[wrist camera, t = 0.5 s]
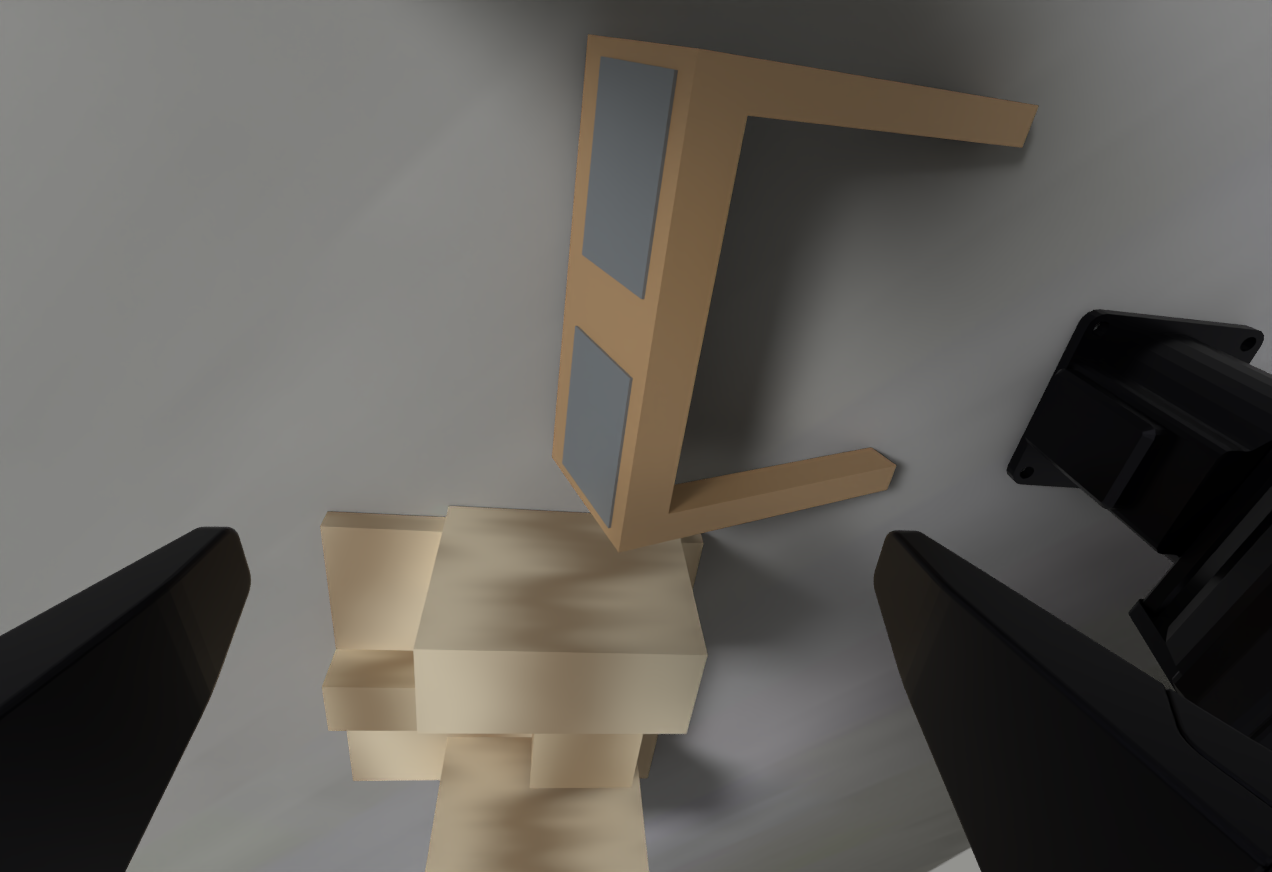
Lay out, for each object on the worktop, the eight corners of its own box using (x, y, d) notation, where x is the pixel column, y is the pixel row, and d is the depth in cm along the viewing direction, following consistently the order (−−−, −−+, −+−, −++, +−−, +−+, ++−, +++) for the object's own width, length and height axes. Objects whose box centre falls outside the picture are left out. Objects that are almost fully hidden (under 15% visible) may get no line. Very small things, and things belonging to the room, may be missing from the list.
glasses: (893, 84, 21) (1038, 105, 17) (795, 420, 27) (887, 489, 23) (585, 33, 16) (694, 47, 12) (549, 457, 22) (616, 553, 18)
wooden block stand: (702, 518, 24) (742, 655, 19) (644, 768, 32) (660, 917, 26) (326, 499, 22) (250, 646, 17) (359, 770, 30) (313, 931, 24)
